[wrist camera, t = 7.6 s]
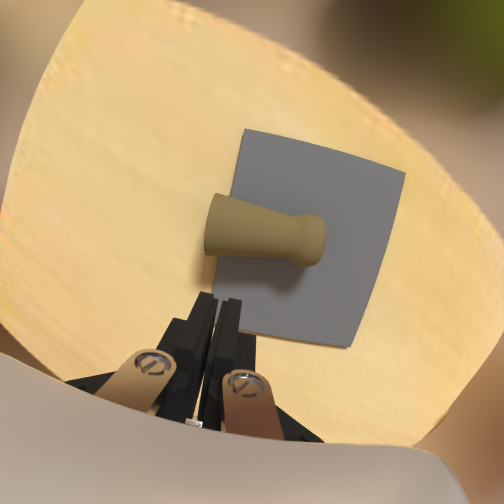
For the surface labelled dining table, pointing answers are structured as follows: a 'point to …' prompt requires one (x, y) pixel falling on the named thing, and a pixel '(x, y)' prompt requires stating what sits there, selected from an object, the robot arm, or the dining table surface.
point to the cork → (263, 232)
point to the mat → (337, 241)
